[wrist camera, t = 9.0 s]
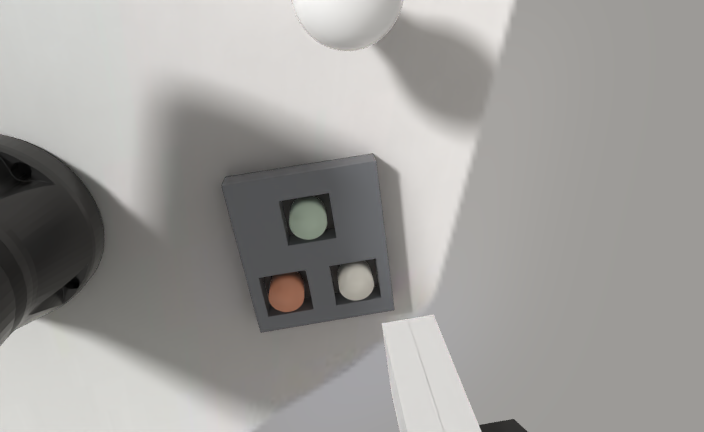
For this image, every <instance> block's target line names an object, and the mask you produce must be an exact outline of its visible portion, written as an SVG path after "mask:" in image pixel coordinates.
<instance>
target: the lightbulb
mask: <svg viewBox="0 0 704 432" xmlns="http://www.w3.org/2000/svg"><path fill="white" fill-rule="evenodd" d="M291 2H292V6H293V9H294V12H295V14H296V17H297V19H298V21H299V22H300V24H301V26H302V27H303V28H304V30H305V31H306V32H307V33H308V34H309V35H310V36H311V37H312V38H313V39H314V40H316V41H317V42H319V43H320V44H322V45H324V46H326V47H328V48H331V49H335V50H340V51H356V50H360V49H364V48H367V47H369V46H371V45H373V44H375V43H376V42H378V41H379V40H381V39H382V38H383V37H384V36H385V35H386V34H387V33H388V32H389V31H390V30H391V28H392V27H393V26H394V24H395V22H396V21H397V19H398V17H399V14H400V12H401V9H402V5H403V0H291Z"/></svg>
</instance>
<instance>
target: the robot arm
mask: <svg viewBox="0 0 704 432" xmlns="http://www.w3.org/2000/svg"><path fill="white" fill-rule="evenodd" d="M103 248H104V228H103V223H102V219H101V215H100V212H99V210H98V207H97V205H96V203H95V201H94V199H93V197H92V196H91V194H90V192H89V191H88V189H87V188H86V187H85V185H84V184H83V183H82V182H81V180H80V179H79V178H78V177H77V176H76V175H75V174H74V173H73V172H72V171H71V170H70V169H69V168H68V167H67V166H66V165H64V164H63V163H62V162H61V161H59V160H58V159H57V158H55V157H54V156H52V155H51V154H49V153H47V152H46V151H44V150H42V149H40V148H38V147H36V146H34V145H32V144H30V143H27V142H25V141H22V140H19V139H16V138H13V137H9V136H5V135H1V134H0V346H1V345H2V344H3V342H4V341H5V340H6V339H7V338H8V337H9V336H10V334H11V333H12V332H13V331H14V330H16V329H18V328H20V327H22V326H24V325H26V324H28V323H30V322H32V321H34V320H36V319H38V318H40V317H41V316H43V315H45V314H47V313H49V312H51V311H53V310H55V309H57V308H59V307H61V306H62V305H64V304H65V303H67V302H68V301H69V300H71V299H72V298H73V297H74V296H75V295H76V294H77V293H78V292H79V291H80V290H81V289H82V288H83V286H84V285H85V284H86V283H87V281H88V280H89V279H90V277H91V276H92V275H93V273H94V272H95V270H96V269H97V267H98V265H99V262H100V260H101V257H102V253H103ZM382 329H383V336H384V344H385V350H386V358H387V366H388V372H389V380H390V387H391V395H392V400H393V404H394V409H395V413H396V418H397V422H398V427H399V432H527V431H526V430H525V429H524V428H523V427H522V426H521V425H519V423H517V422H516V421H515V420H514V419H511V420H506V421H500V422H494V423H488V424H483V425H479V424H478V422H477V419H476V417H475V414H474V412H473V410H472V407H471V405H470V402H469V400H468V397H467V395H466V393H465V390H464V388H463V385H462V383H461V380H460V378H459V375H458V373H457V371H456V368H455V366H454V363H453V361H452V358H451V356H450V354H449V351H448V349H447V346H446V344H445V341H444V339H443V336H442V334H441V332H440V329H439V327H438V324H437V322H436V320H435V317H434V315H428V316H422V317H416V318H410V319H404V320H398V321H392V322H386V323H382Z"/></svg>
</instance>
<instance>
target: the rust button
mask: <svg viewBox="0 0 704 432" xmlns="http://www.w3.org/2000/svg"><path fill="white" fill-rule="evenodd" d="M303 301H304V279H303V277H302V276H301V275H300V274H299V273H298V272H291V273H285V274H279V275H273V277H272V278H271V281H270V289H269V302H270V304H271V305H272V306H273V307H274V308H275V309H276V310H279V311H282V312H291V311H294V310H296V309H298V308H299V307H300V306H301V305H302V303H303Z"/></svg>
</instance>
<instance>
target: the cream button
mask: <svg viewBox="0 0 704 432" xmlns="http://www.w3.org/2000/svg"><path fill="white" fill-rule="evenodd" d="M337 276H338V284H339V290H340V293H341V294H342V295H343V296H344V297H345V298H347V299H349V300H362V299H364V298H366V297H368V296H369V295H370V294H371V292H372V291H373V288H374V281H373V277H372V273H371V269H370V266H369V265H368V263H367V262H366V261H358V262H352V263H346V264H341V265H340V266H339V268H338V272H337Z"/></svg>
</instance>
